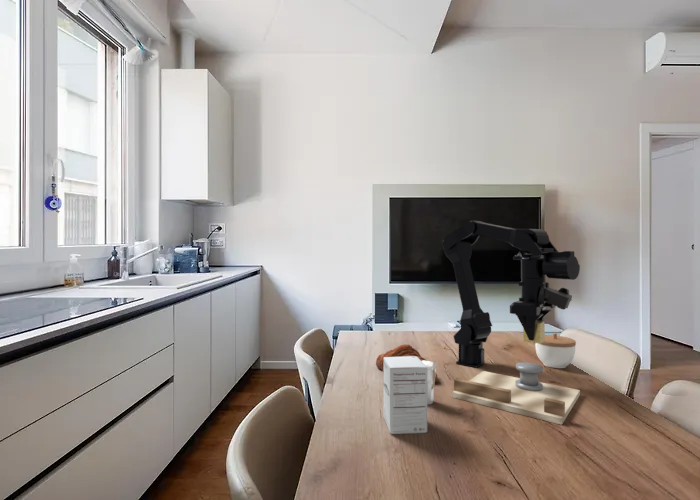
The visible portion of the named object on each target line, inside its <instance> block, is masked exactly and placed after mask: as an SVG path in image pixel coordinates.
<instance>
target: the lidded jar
mask: <svg viewBox="0 0 700 500" xmlns="http://www.w3.org/2000/svg"><path fill="white" fill-rule="evenodd" d="M576 345H577V341H576V340H575V339H574V338H571V337H567V336H560V335H558V334H557V332H554V333H552V335H550V334H545V341H544V342H542V343H541V344H540V343H535V347H534V348H535V353H536V356H537V357H538V359H539V361H540V362H542V364H543V365H544V366H545V367H547V368H548V367H549V368H553V369H566V368H567V366H569V365H570V364H571V363H572V362H573V360H574V358H575V355H576V354H575V353H576Z"/></svg>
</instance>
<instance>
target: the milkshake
mask: <svg viewBox="0 0 700 500" xmlns="http://www.w3.org/2000/svg"><path fill="white" fill-rule="evenodd" d="M426 360H427V359H426ZM426 360H423V361H422V362H423V363H424V364H425V365H426V366H427V405H432V404H433V403H434V394H435V383H434V382H435V373H436V374H437V365H436V364H435V363H436V360H434V361H431V360H430V361H429V360H427V361H426Z"/></svg>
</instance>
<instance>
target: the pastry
mask: <svg viewBox="0 0 700 500" xmlns="http://www.w3.org/2000/svg"><path fill="white" fill-rule="evenodd" d="M404 356H417V357H418V358H419V359H420V360H421V361H423V360H426V361H428V360H427V359H425V358H424V357H422V355H421V354H420V352H419V351H418V350H417V349H415V348H414V347H413V346H411V345H410V344H402V345H399V346H396V347H395V348H393V349H390V350H387V351H386V352H385V353H381V354H378V356H377V358H376V361H375V365H376V367H377V369H378V370H380V371H382V373H384V359H383V358H384V357H404ZM438 381H439V379H438V374H437V372H436V373H435V382H434V384H437V383H438Z"/></svg>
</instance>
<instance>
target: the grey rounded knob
mask: <svg viewBox="0 0 700 500" xmlns="http://www.w3.org/2000/svg"><path fill="white" fill-rule="evenodd" d="M515 369H516V370H517V371H519V378H520V379H519V380H516V387H518V388H520V389H523V390H528V391H540V390H542V389H543V384H542V383H543V382H541V383H540V381H539V374H541V373H543V371H544V368H543V366H542V365H540V364H538V363H534V362H528V361H527V362H523V361H522V362H517V363H515Z"/></svg>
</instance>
